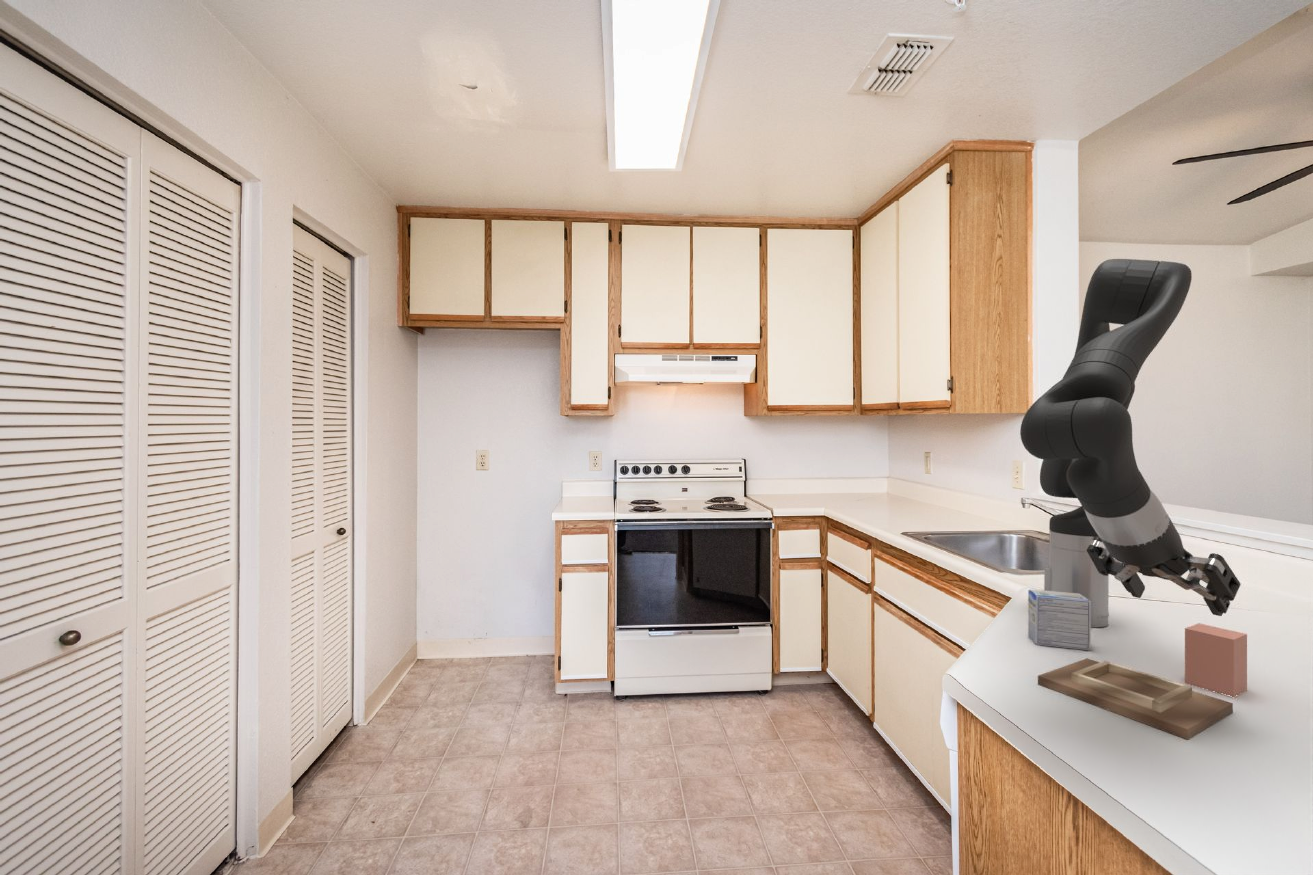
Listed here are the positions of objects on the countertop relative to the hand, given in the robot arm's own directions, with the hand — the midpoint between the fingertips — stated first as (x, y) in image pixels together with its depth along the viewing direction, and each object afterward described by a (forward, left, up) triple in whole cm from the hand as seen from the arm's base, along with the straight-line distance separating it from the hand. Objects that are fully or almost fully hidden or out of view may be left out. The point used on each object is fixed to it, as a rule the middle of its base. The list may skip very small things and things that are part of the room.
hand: (1177, 600), depth 73 cm
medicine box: (-18, +8, -14) cm, 24 cm away
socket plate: (-3, -6, -13) cm, 15 cm away
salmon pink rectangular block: (+1, +10, -13) cm, 17 cm away
